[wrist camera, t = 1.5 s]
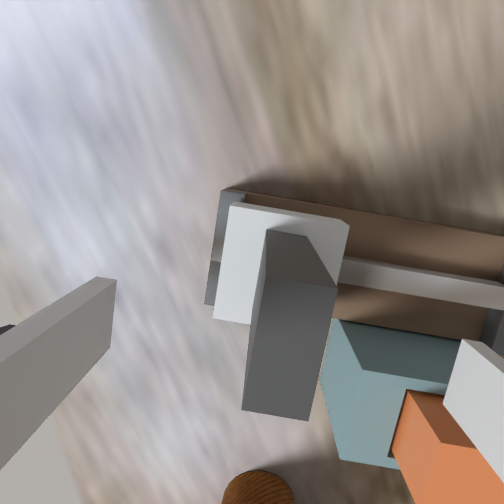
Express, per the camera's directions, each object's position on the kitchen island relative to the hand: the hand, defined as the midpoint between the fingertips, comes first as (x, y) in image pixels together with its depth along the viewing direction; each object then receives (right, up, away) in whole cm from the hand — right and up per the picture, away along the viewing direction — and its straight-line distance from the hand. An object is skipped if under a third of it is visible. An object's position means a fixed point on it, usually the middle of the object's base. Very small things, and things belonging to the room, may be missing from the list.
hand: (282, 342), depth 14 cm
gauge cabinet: (+10, -5, +17) cm, 20 cm away
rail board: (+7, +3, +15) cm, 17 cm away
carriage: (+1, +3, +11) cm, 12 cm away
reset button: (+10, -6, +11) cm, 16 cm away
